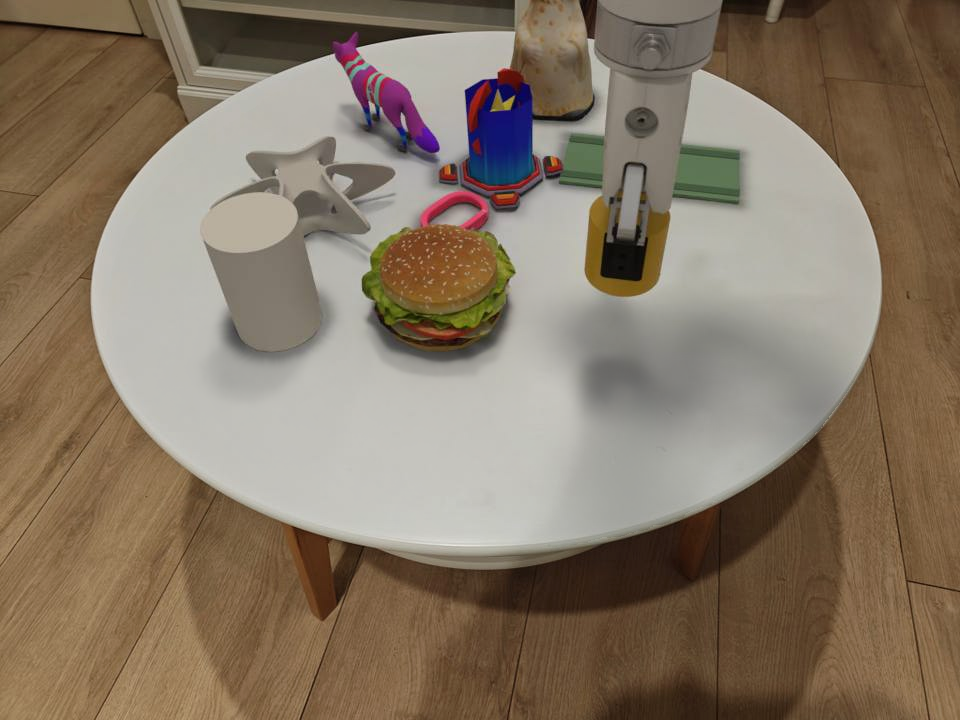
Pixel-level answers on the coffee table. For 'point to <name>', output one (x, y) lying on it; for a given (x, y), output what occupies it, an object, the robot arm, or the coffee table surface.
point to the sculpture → (316, 185)
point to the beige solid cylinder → (263, 270)
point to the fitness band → (455, 198)
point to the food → (438, 285)
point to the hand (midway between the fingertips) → (625, 246)
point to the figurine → (555, 59)
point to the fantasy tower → (500, 141)
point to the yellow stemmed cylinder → (653, 258)
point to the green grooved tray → (695, 178)
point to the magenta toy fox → (383, 97)
